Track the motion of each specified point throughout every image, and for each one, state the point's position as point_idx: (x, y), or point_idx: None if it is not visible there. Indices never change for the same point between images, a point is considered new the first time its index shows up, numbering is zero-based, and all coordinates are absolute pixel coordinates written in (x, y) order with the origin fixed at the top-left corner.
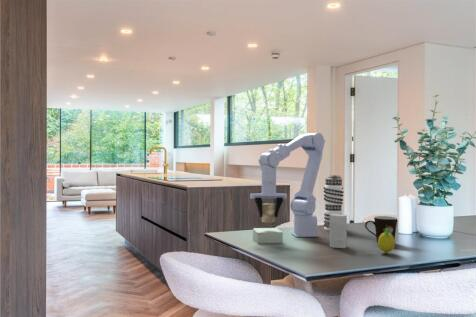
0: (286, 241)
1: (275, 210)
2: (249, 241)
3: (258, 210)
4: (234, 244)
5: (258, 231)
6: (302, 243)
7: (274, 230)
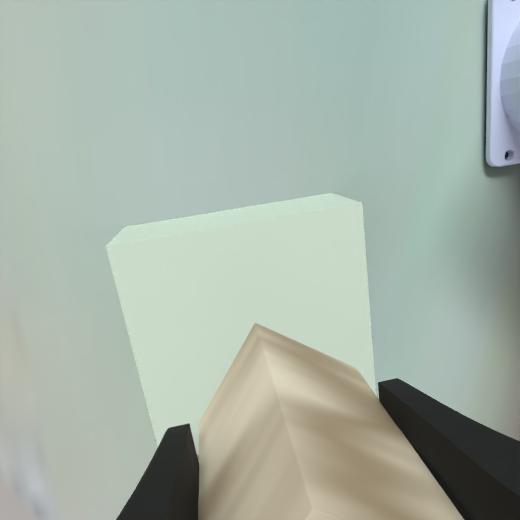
0: (381, 326)
1: (427, 465)
2: (106, 362)
3: (136, 490)
4: (4, 471)
5: (170, 411)
6: (470, 373)
7: (320, 344)
